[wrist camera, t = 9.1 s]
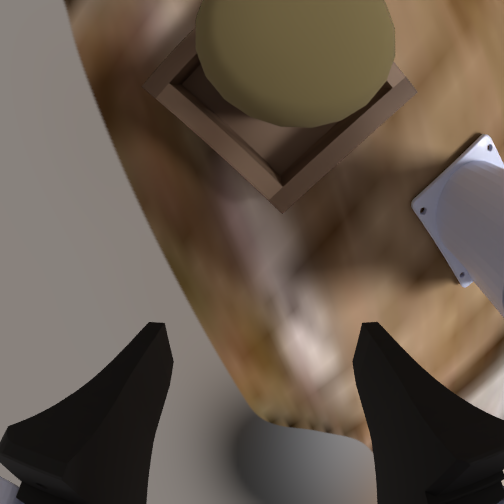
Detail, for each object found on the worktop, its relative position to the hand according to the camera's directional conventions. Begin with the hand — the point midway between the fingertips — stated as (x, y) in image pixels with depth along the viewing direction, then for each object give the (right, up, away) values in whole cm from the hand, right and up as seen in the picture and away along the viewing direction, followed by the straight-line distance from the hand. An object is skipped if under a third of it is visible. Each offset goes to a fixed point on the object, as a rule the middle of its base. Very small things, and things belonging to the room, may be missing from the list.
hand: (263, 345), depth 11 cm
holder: (+1, +13, +5) cm, 14 cm away
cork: (+1, +13, +4) cm, 14 cm away
